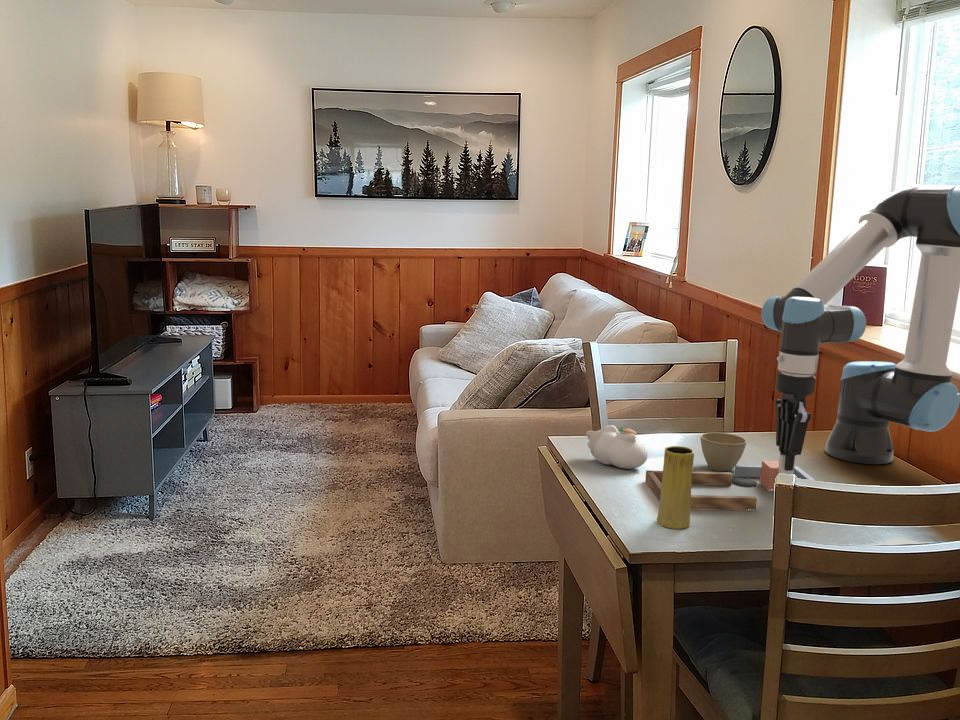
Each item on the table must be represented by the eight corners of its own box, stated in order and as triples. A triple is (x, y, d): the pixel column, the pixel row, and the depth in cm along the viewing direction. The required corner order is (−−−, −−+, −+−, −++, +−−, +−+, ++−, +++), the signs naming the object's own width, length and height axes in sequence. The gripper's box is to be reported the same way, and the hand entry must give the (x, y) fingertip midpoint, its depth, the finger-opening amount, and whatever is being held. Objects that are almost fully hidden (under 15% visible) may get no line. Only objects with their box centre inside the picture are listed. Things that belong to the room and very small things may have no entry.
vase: (695, 523, 170) (702, 450, 167) (679, 532, 165) (685, 456, 163) (667, 515, 174) (673, 443, 171) (650, 523, 169) (656, 449, 167)
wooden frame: (729, 483, 194) (730, 472, 194) (755, 510, 178) (757, 498, 178) (645, 481, 193) (646, 470, 193) (664, 508, 177) (665, 496, 177)
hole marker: (752, 479, 198) (752, 477, 198) (760, 487, 193) (761, 485, 193) (727, 478, 198) (727, 477, 198) (735, 486, 193) (736, 485, 193)
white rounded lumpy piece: (653, 430, 199) (592, 410, 207) (636, 455, 194) (575, 434, 202) (655, 460, 205) (596, 440, 213) (639, 484, 200) (580, 463, 208)
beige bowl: (745, 477, 199) (748, 445, 198) (698, 472, 201) (701, 441, 200) (741, 464, 209) (744, 434, 208) (697, 460, 211) (699, 430, 209)
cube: (782, 483, 196) (784, 461, 195) (791, 491, 191) (794, 468, 190) (759, 483, 196) (762, 460, 195) (768, 490, 191) (770, 467, 190)
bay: (796, 476, 201) (797, 466, 201) (815, 492, 191) (816, 481, 191) (734, 475, 200) (735, 465, 200) (749, 490, 190) (750, 479, 190)
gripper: (767, 366, 192) (756, 473, 196) (790, 379, 179) (778, 493, 183) (801, 367, 192) (790, 474, 197) (828, 380, 179) (814, 494, 184)
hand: (784, 483), depth 190 cm, fingers closed
